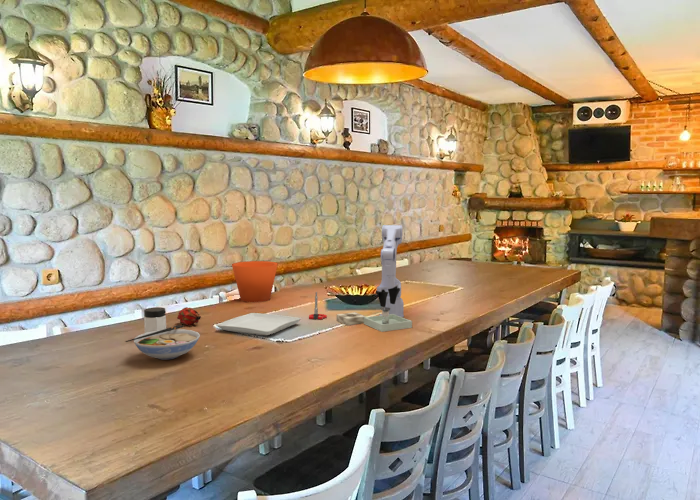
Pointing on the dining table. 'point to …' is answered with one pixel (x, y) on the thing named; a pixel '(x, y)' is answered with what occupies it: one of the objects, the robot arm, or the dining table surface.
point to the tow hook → (316, 311)
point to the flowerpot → (255, 279)
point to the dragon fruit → (188, 316)
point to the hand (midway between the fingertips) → (387, 305)
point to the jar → (154, 319)
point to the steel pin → (385, 315)
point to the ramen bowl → (166, 342)
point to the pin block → (350, 318)
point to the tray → (394, 324)
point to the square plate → (258, 323)
